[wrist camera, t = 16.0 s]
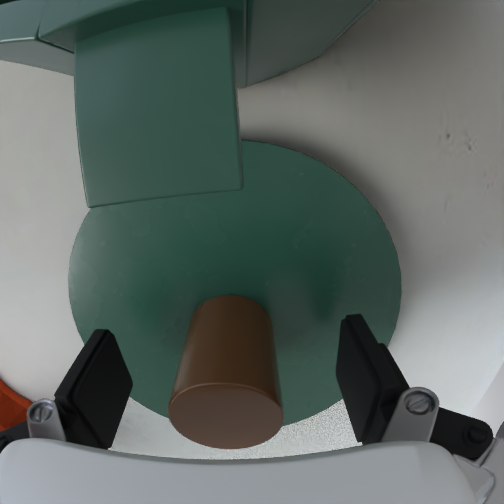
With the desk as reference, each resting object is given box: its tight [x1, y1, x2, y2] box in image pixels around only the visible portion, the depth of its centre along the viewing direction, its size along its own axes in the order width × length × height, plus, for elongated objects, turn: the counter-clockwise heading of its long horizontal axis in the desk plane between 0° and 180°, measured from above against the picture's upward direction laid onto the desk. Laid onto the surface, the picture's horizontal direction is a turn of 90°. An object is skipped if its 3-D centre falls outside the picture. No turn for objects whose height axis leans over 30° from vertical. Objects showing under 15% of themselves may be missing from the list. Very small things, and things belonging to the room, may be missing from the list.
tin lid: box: [68, 140, 401, 449], centre depth 11 cm, size 16×16×6 cm
